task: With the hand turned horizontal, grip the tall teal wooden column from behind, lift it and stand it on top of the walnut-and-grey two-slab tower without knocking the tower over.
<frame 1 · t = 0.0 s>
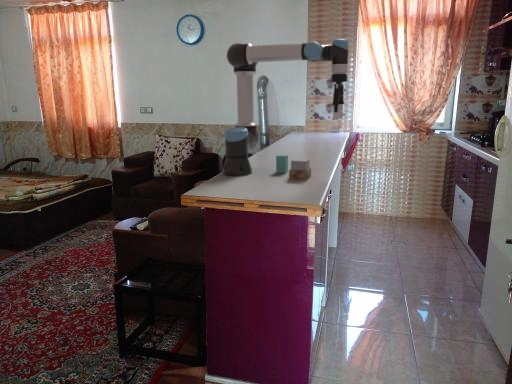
hand: (337, 118, 198), 28 cm above the table, tool pointing down, fingers open, 13 cm apart
column block: (282, 172, 209), on the table
tower base: (300, 178, 196), on the table, touching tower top
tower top: (300, 168, 195), point 4 cm above the table, touching tower base
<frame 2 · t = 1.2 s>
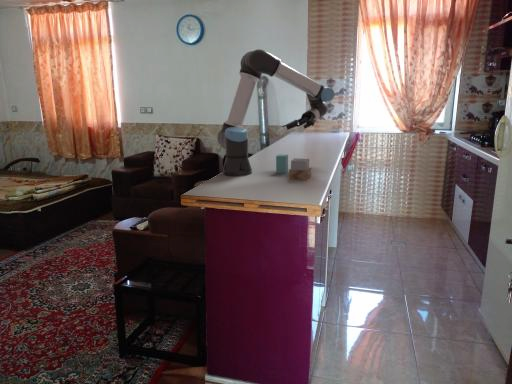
hand: (289, 131, 210), 21 cm above the table, tool tilted 75°, fingers open, 13 cm apart
nothing on the table moved.
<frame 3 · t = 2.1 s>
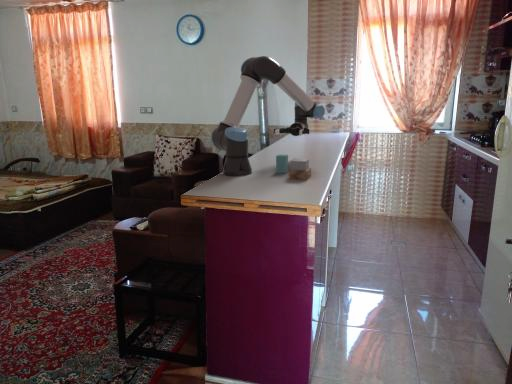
hand: (287, 132, 213), 20 cm above the table, tool horizontal, fingers open, 13 cm apart
nothing on the table moved.
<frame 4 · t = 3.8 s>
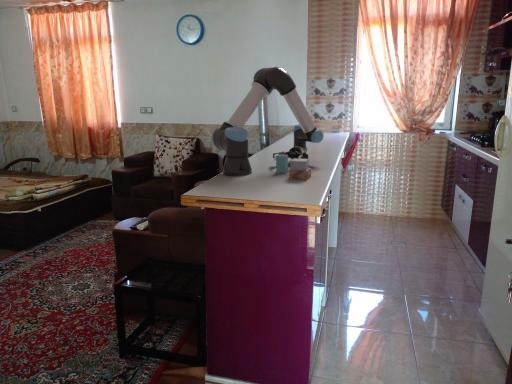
hand: (286, 158, 215), 6 cm above the table, tool horizontal, fingers open, 13 cm apart
tower base: (300, 178, 196), on the table
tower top: (299, 169, 195), point 4 cm above the table
everything else where it was.
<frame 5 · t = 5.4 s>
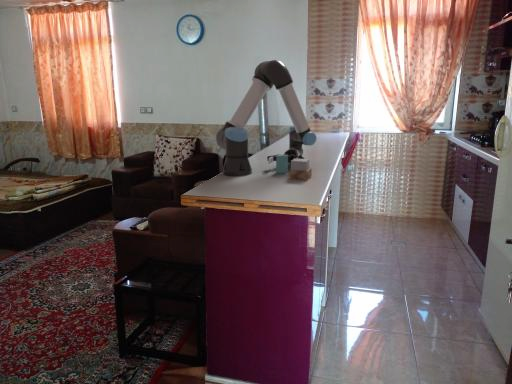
hand: (281, 161, 206), 6 cm above the table, tool horizontal, fingers open, 13 cm apart
tower base: (300, 178, 196), on the table, touching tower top
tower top: (300, 169, 195), point 4 cm above the table, touching tower base
everything else where it was.
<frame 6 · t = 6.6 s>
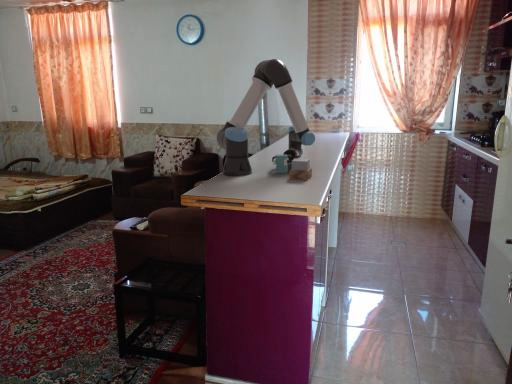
hand: (279, 162, 203), 6 cm above the table, tool horizontal, fingers closed on column block, 5 cm apart
column block: (282, 172, 209), on the table, touching gripper
everything else where it was.
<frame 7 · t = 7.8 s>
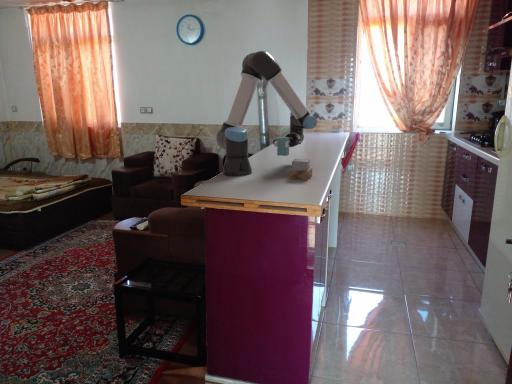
hand: (280, 144, 201), 15 cm above the table, tool horizontal, fingers closed on column block, 5 cm apart
column block: (283, 154, 207), point 9 cm above the table, touching gripper
everything else where it was.
when the fingers open (16 cm above the table, at t = 11.1 s): column block drops 2 cm, resting on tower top.
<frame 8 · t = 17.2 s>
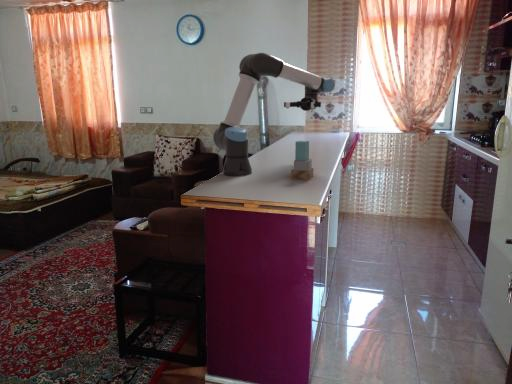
hand: (298, 105, 209), 34 cm above the table, tool horizontal, fingers open, 13 cm apart
column block: (302, 159, 194), point 9 cm above the table, touching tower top
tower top: (302, 169, 194), point 4 cm above the table, touching column block, tower base
everything else where it was.
at the end: column block 0.4 cm off-centre on the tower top, point 4.6 cm above the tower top's base; column block tilted 1°; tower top 0.3 cm off-centre on the tower base, point 4.5 cm above the tower base's base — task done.
